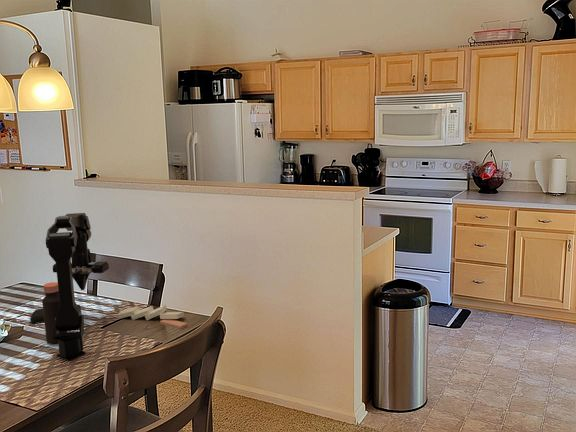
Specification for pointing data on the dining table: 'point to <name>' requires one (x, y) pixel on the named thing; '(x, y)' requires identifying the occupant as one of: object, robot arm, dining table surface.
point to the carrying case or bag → (37, 316)
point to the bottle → (50, 309)
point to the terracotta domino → (173, 323)
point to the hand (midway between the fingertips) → (82, 289)
